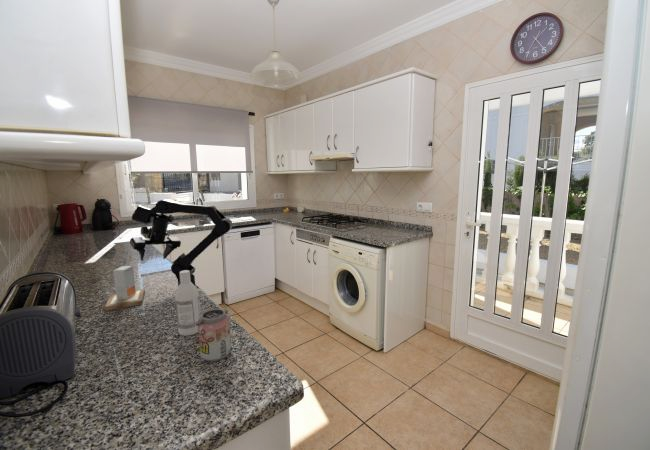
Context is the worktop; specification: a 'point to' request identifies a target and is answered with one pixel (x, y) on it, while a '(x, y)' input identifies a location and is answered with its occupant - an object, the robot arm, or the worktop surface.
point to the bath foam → (187, 305)
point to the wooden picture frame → (125, 300)
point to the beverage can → (214, 334)
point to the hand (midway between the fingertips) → (153, 259)
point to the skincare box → (124, 282)
